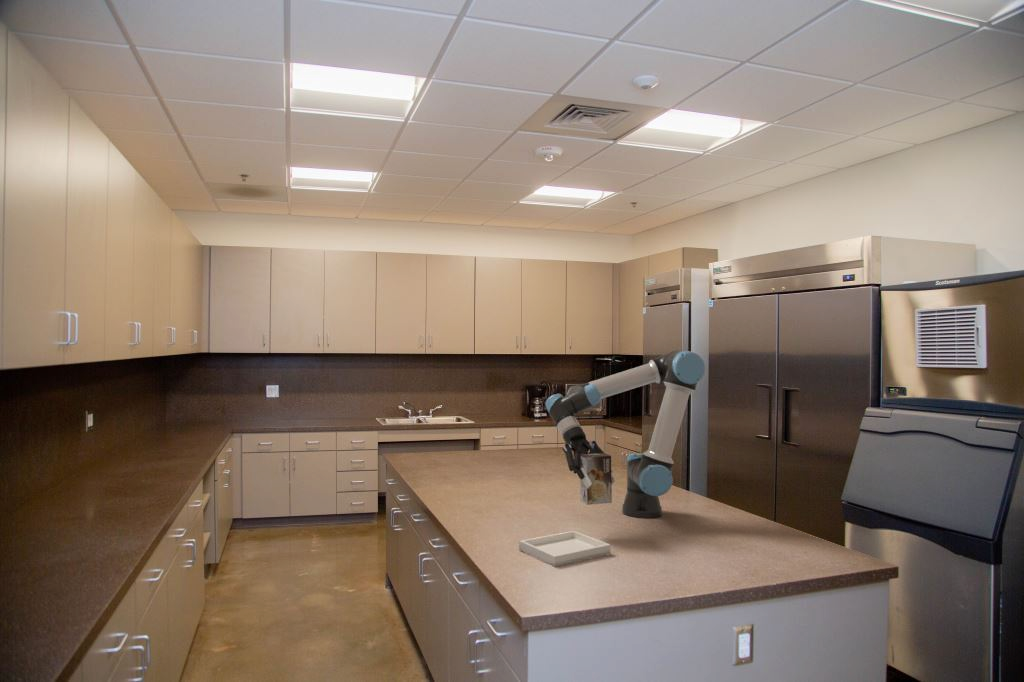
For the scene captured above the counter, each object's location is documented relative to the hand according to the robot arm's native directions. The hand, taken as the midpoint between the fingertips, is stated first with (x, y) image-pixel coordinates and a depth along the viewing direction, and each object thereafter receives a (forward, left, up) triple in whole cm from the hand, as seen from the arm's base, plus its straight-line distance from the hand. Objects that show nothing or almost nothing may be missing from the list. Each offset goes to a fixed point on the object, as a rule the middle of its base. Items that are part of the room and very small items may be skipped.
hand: (601, 484), depth 220 cm
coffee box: (-3, 0, -7) cm, 7 cm away
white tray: (+5, -20, -18) cm, 27 cm away
